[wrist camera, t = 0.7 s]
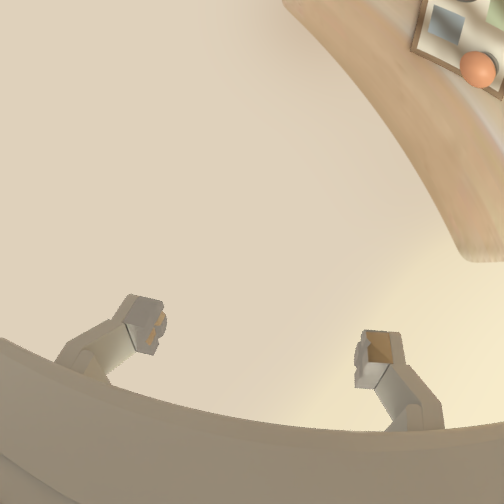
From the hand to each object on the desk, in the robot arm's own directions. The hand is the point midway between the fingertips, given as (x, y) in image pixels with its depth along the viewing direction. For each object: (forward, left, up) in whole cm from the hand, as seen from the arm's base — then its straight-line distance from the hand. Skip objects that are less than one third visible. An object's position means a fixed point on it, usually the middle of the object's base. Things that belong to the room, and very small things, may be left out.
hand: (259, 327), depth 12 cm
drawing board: (-14, -4, -47) cm, 49 cm away
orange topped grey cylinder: (-7, 0, -46) cm, 46 cm away
